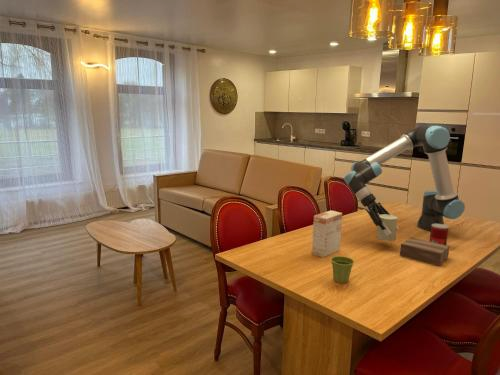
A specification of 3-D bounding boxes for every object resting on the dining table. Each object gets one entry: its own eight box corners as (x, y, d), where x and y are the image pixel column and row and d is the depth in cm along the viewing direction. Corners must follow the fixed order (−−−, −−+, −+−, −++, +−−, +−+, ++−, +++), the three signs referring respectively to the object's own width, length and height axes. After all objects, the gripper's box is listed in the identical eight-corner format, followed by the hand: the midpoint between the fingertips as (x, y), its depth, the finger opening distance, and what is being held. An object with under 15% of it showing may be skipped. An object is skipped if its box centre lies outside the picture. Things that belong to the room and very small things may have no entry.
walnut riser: (409, 248, 192) (411, 237, 190) (447, 257, 180) (449, 246, 178) (399, 255, 181) (400, 243, 180) (439, 266, 170) (440, 253, 168)
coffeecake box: (328, 246, 192) (330, 210, 188) (340, 250, 187) (343, 212, 183) (310, 253, 181) (313, 215, 177) (323, 258, 176) (325, 218, 172)
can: (395, 236, 196) (397, 214, 193) (396, 242, 187) (398, 219, 185) (376, 234, 199) (378, 212, 196) (376, 239, 190) (378, 217, 188)
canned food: (447, 248, 192) (450, 228, 190) (431, 247, 194) (433, 227, 191) (443, 243, 199) (446, 224, 197) (427, 242, 201) (430, 222, 199)
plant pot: (326, 275, 158) (327, 256, 156) (348, 274, 158) (349, 255, 157) (333, 285, 148) (334, 265, 147) (356, 284, 149) (357, 264, 147)
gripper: (369, 197, 207) (395, 231, 200) (351, 204, 192) (378, 241, 184) (379, 189, 203) (406, 224, 195) (361, 196, 187) (390, 233, 180)
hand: (393, 232), depth 190 cm, fingers closed on can, 9 cm apart
